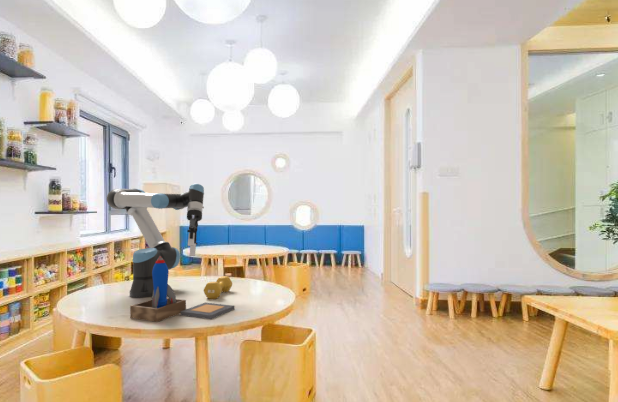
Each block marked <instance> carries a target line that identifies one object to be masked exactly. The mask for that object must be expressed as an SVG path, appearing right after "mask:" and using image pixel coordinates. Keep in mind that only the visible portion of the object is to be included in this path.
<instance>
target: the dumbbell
mask: <svg viewBox="0 0 618 402" xmlns="http://www.w3.org/2000/svg"><path fill="white" fill-rule="evenodd" d="M232 286H233V281H232V280H231V278H230V277H229V276H227V275H223V276H222V275H221V276H219V277H218V278H217V280H216V281H209V282H208V281H207V283H206V284H205V286H204V288H203V292H204V295H205V297H206V298H207V299H208V300H209V299H210V300H216V299H218V298H219V297H220V296H221V294H222V293H228V292H229V291H230V290H231V288H232Z"/></svg>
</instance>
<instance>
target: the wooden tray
mask: <svg viewBox="0 0 618 402" xmlns="http://www.w3.org/2000/svg"><path fill="white" fill-rule="evenodd" d="M186 301H187V299H180V298H176V303H173V304H172V303H171V301H170V299H169V298H168V297H167V304H166V306H163V307H160V308H152V299H148V300H145V301H142V302H138V303H135V304H132V305H129V310H130V311H129V314H130V315H129V317H130V319H134V318H136V320H142V321H148V322H157V323H159V322H162V321H163V320H164V321H165V320H167V319H169V318H172V317H175V316H178V315H180V311H183V310H186V309H187V302H186Z"/></svg>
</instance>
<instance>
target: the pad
mask: <svg viewBox="0 0 618 402" xmlns="http://www.w3.org/2000/svg"><path fill="white" fill-rule="evenodd" d="M234 310H235V305H231V304H222V303H215V302H214V303H213V302H203V303H200V304H197V305H194V306H191V307H189V308H186V310H183V311H180V314H179V315H180V316H185V317H194V318H200V319H207V320H212V319H214V318H217V317H219V316H222V315H225V314H227V313H228V312H231V311H234Z"/></svg>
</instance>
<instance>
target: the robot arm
mask: <svg viewBox="0 0 618 402" xmlns="http://www.w3.org/2000/svg"><path fill="white" fill-rule="evenodd" d="M204 195H205V189H204V186H203V185H201V184H199V183H193V184H190V186H189V189H188V191H187V190H186V191H185V192H183V193H159V192H158V193H153V192H152V193H151V192H145V191H144V190H142V189H138V188H132V189H131V188H114V189H112V190H110V191H109V192H108V193H107V195H106V202H107V205H108V206H109V207H110V208H113V209H116V210H126V211H125V212H126V213H127V214H128V215H129V216H131V217H132V218H133V219H134V222H135V223H136V225H137V227H138V228H139V230H140V233H141V235H142V236H143V238H144V240H145V241H146V244H147V245H148V247H147V248H141V249H138V250H135V251H134V252H133V253H132V283H131V286H130V287H131V288H130V290H129V297H131V298H149V297H152V295H153V290H154V286H153V277H152V270H153V267H154V265H155V262H156V261H157V259H158V258H159V256H161V257H162V258H163V260H164V261H165V263H166V265H167V267H168V271H169V270H171V269H175V268H176V267H177V266H178V265H179V264H180V261H181V260H180V259H181V254H180V253H181V252H180V250H179V249H178V248H176V247H172V246H171V244H170V243H169V242H168V241H166V240H165V239H164V237H163V236H162V234H161V232H160V230H159V229H158V227H157V225H156V222H155V221H154V219H153V217H152V216H151V214H150V212H149V210H148V208H152V209H158V210H159V209H161V210H162V209H173V210H175V211H178V210H179V211H180V210H183V209H185V208H186V209H187V212H186V219H187V220H188V221H189V226H188V229H187V233H188V237H187V238H188V239H187V246H188V247H189V257H196V250H197V249H196V248H197V245H198V242H197V234H198V233H197V232H198V227H199V222H200V221H202V219H203V209H204V208H205V207H204V198H205V197H204Z"/></svg>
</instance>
